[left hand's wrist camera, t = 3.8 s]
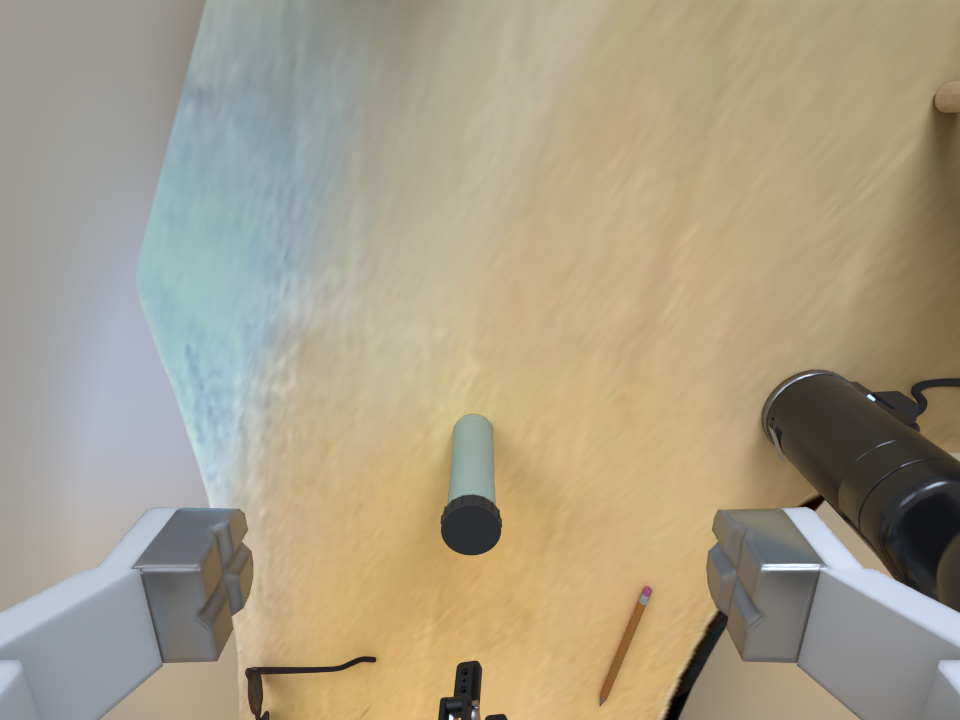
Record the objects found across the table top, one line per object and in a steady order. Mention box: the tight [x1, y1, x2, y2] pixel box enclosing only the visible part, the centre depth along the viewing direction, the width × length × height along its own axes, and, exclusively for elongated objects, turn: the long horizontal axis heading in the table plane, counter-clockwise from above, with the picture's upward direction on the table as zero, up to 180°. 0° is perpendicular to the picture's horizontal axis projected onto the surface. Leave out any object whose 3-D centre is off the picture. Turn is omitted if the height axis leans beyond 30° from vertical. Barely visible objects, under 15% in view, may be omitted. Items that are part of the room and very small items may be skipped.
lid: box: [441, 494, 502, 555], centre depth 49 cm, size 5×5×2 cm
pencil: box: [600, 587, 652, 706], centre depth 74 cm, size 1×1×19 cm
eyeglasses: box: [245, 656, 376, 720], centre depth 75 cm, size 15×15×5 cm
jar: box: [448, 414, 496, 506], centre depth 56 cm, size 4×4×16 cm
